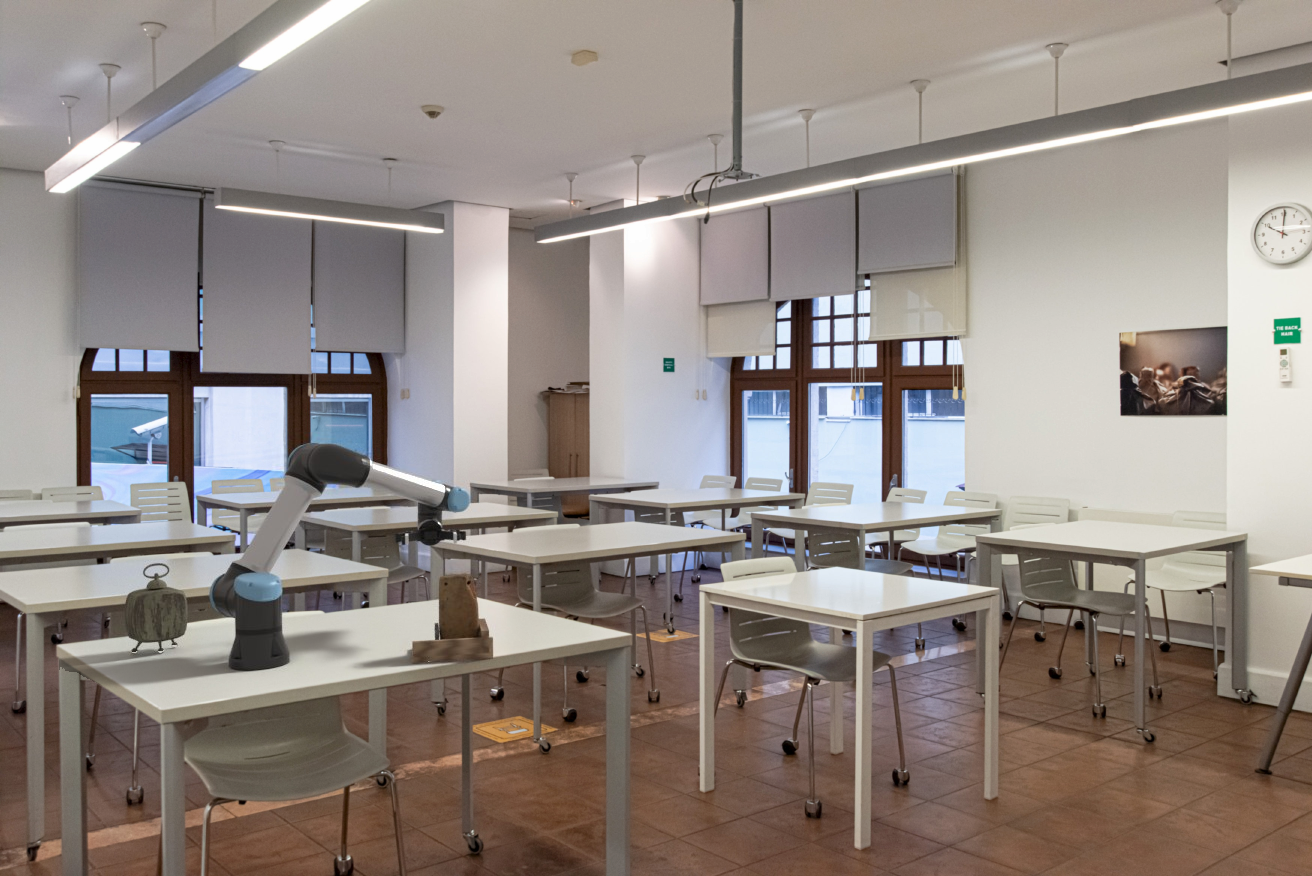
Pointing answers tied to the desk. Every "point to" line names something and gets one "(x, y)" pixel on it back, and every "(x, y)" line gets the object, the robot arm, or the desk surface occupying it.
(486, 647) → the wooden holder
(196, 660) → the desk surface
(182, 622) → the tabletop clock
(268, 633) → the robot arm
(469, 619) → the block
